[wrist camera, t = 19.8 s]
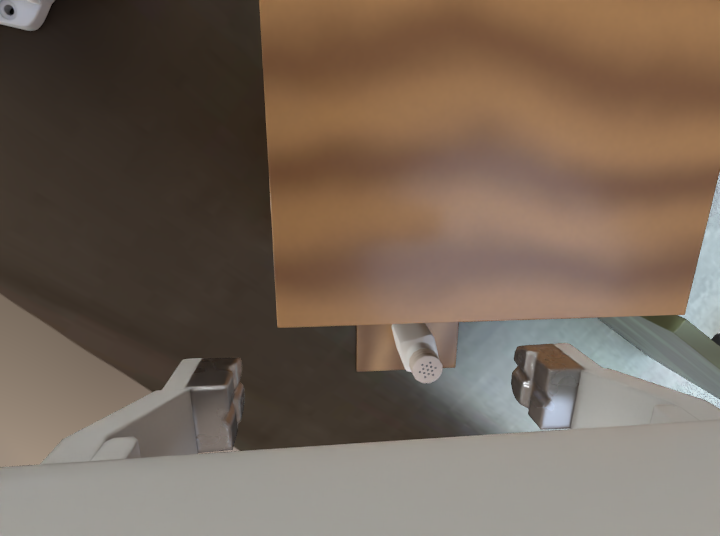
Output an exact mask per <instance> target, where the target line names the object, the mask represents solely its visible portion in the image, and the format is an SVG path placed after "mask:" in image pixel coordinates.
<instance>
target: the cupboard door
mask: <svg viewBox="0 0 720 536" xmlns="http://www.w3.org/2000/svg"><path fill="white" fill-rule="evenodd" d="M598 319H600V320H601V321H602V322H604V323H605V324H606V325H608V326H609V327H610V328H612V329H613V330H614V331H616V332H617V333H618V334H620V335H621V336H622V337H624V338H625V339H626V340H628V341H629V342H630V343H632V344H633V345H634V346H636V347H637V348H638V349H639V350H641V351H642V352H643V353H645V354H646V355H647V356H649V357H650V358H652V359H654V360H655V361H657V362H659V363H660V364H662V365H664V366H665V367H667V368H669V369H670V370H672V371H674V372H675V373H677V374H679V375H680V376H682V377H683V378H685V379H687V380H688V381H690V382H692V383H693V384H695V385H697V386H698V387H700V388H702V389H703V390H705V391H707V392H708V393H710V394H712V395H713V396H715V397H717V398H718V399H720V333H719V334H716V335H715V336H714V337H713V338H712V339H710V338H709V337H707V336H706V335H705V334H704V333H703V332H701V331H700V330H699V329H698V328H696V327H695V326H694V325H693V324H691V323H690V322H689V321H688V320H687V319H685V318H682V317H680V316H678V315H660V316H629V317H598Z"/></svg>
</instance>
